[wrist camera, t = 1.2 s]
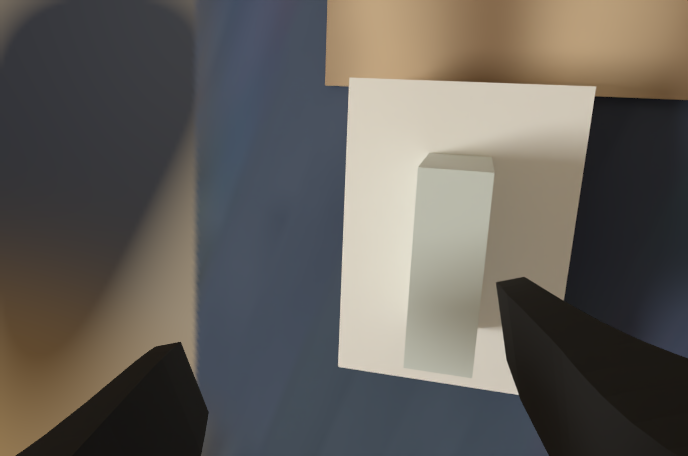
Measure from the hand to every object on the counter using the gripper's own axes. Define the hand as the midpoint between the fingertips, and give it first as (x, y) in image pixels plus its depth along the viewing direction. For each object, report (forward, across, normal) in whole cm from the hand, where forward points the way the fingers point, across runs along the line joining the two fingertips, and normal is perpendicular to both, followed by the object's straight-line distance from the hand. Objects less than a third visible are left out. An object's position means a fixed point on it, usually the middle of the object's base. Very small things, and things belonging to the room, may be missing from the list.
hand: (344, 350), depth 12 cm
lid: (+7, -4, +1) cm, 8 cm away
